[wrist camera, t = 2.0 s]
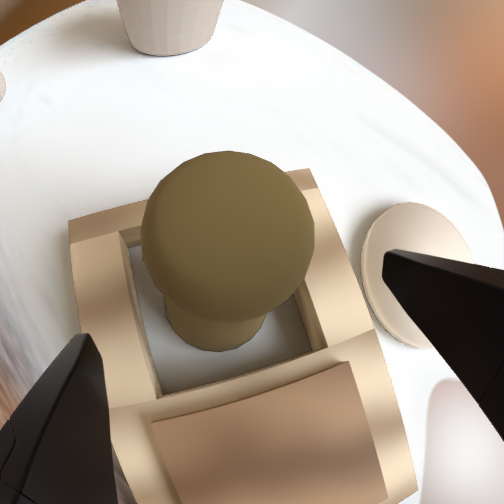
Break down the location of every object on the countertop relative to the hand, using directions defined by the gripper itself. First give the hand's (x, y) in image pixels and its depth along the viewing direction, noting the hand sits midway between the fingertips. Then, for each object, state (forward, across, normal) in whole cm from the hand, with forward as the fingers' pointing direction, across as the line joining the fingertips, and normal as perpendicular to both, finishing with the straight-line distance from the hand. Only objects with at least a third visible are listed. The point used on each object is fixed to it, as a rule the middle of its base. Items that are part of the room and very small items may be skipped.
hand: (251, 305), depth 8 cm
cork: (+8, 0, +5) cm, 10 cm away
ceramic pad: (+6, -15, +7) cm, 18 cm away
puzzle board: (+5, 0, +9) cm, 10 cm away
